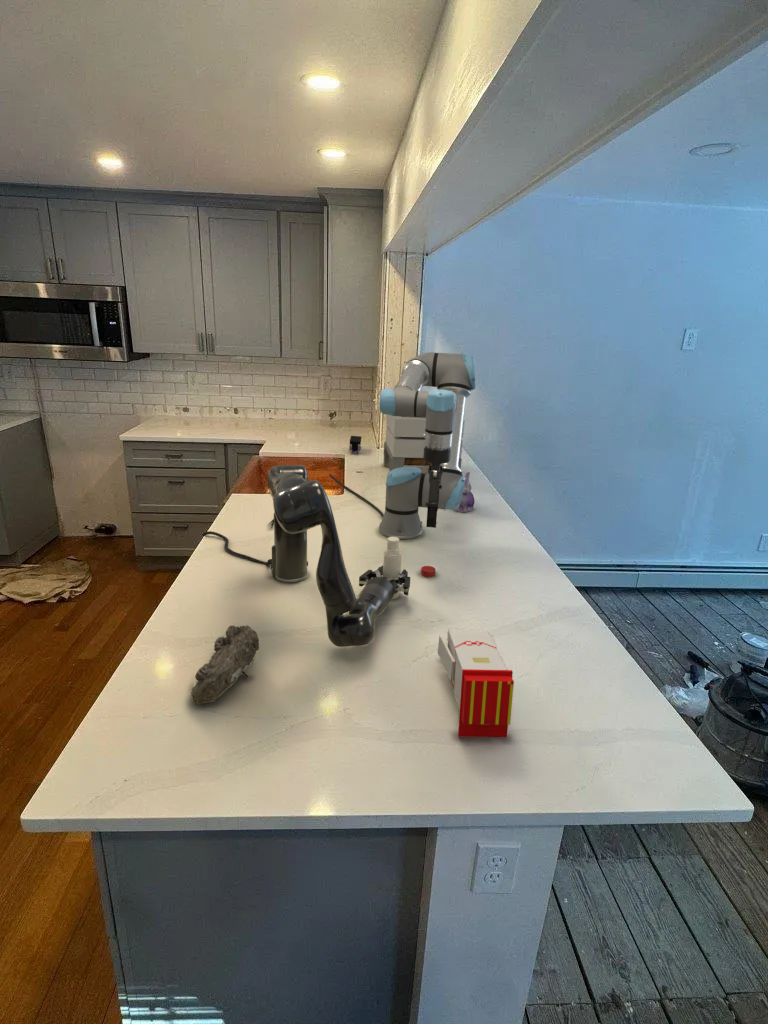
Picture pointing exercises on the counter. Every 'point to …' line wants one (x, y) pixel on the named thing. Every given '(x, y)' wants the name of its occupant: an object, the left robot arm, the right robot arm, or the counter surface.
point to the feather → (272, 523)
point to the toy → (478, 682)
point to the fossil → (225, 663)
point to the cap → (428, 571)
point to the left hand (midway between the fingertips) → (394, 570)
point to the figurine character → (355, 444)
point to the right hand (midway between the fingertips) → (432, 518)
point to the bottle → (392, 560)
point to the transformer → (407, 442)
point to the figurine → (466, 497)
